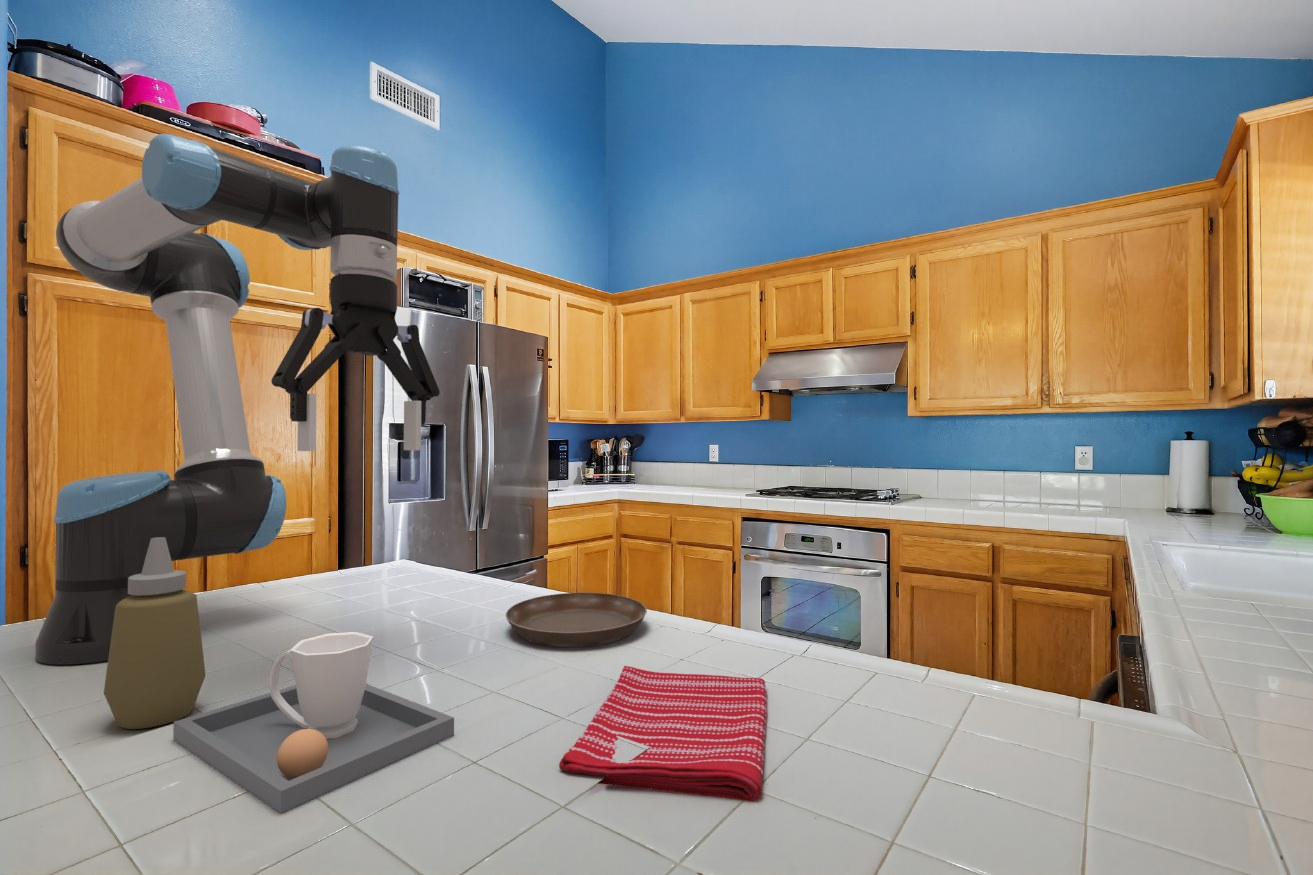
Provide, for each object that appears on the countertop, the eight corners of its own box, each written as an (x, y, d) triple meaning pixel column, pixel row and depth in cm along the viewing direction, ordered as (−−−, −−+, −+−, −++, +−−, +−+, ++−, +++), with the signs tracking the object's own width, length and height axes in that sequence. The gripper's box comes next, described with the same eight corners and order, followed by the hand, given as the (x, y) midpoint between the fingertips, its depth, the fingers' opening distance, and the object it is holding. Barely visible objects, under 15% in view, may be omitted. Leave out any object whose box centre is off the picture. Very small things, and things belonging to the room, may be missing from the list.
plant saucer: (644, 654, 84) (644, 629, 84) (488, 653, 84) (488, 628, 84) (648, 612, 104) (648, 592, 104) (523, 612, 105) (523, 592, 105)
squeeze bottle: (224, 707, 66) (226, 534, 66) (139, 742, 58) (141, 546, 58) (170, 697, 69) (172, 531, 69) (82, 729, 61) (84, 541, 61)
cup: (341, 749, 55) (341, 656, 55) (241, 740, 57) (242, 650, 57) (388, 715, 62) (389, 633, 62) (298, 708, 64) (299, 628, 64)
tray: (173, 748, 57) (173, 721, 57) (337, 694, 69) (337, 672, 69) (280, 824, 46) (280, 791, 46) (454, 743, 58) (454, 717, 58)
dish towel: (549, 790, 51) (549, 757, 51) (620, 682, 74) (620, 659, 74) (763, 813, 48) (763, 778, 48) (768, 693, 71) (767, 669, 71)
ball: (268, 778, 50) (268, 733, 50) (313, 760, 53) (314, 717, 53) (290, 793, 48) (290, 745, 48) (336, 772, 51) (337, 728, 51)
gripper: (270, 248, 66) (268, 451, 66) (466, 294, 86) (465, 450, 86) (238, 259, 70) (237, 451, 70) (432, 301, 91) (431, 449, 91)
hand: (363, 451), depth 78 cm, fingers open, 13 cm apart
